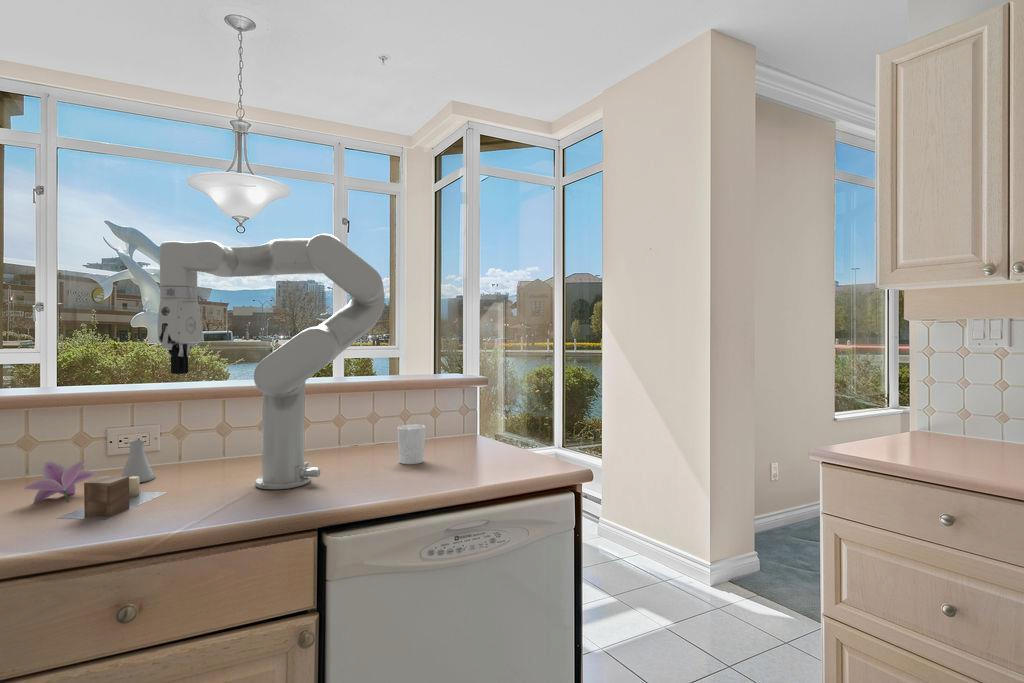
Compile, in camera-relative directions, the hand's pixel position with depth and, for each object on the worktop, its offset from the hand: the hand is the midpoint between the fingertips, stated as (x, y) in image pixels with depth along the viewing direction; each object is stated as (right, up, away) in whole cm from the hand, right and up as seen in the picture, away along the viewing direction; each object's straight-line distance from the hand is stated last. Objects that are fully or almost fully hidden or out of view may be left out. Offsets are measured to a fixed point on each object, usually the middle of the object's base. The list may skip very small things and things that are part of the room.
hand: (179, 373), depth 132 cm
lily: (-19, -28, -10) cm, 35 cm away
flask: (-15, -27, +7) cm, 32 cm away
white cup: (+49, -27, +28) cm, 63 cm away
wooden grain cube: (-3, -27, -19) cm, 33 cm away
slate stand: (-5, -27, -14) cm, 31 cm away
